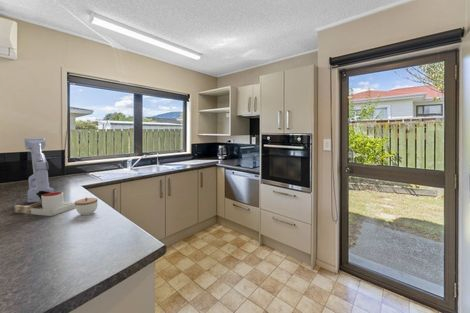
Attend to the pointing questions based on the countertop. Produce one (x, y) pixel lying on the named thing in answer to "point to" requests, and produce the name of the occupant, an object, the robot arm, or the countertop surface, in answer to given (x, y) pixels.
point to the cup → (52, 200)
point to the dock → (55, 211)
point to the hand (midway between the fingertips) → (44, 203)
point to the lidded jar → (86, 206)
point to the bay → (26, 207)
